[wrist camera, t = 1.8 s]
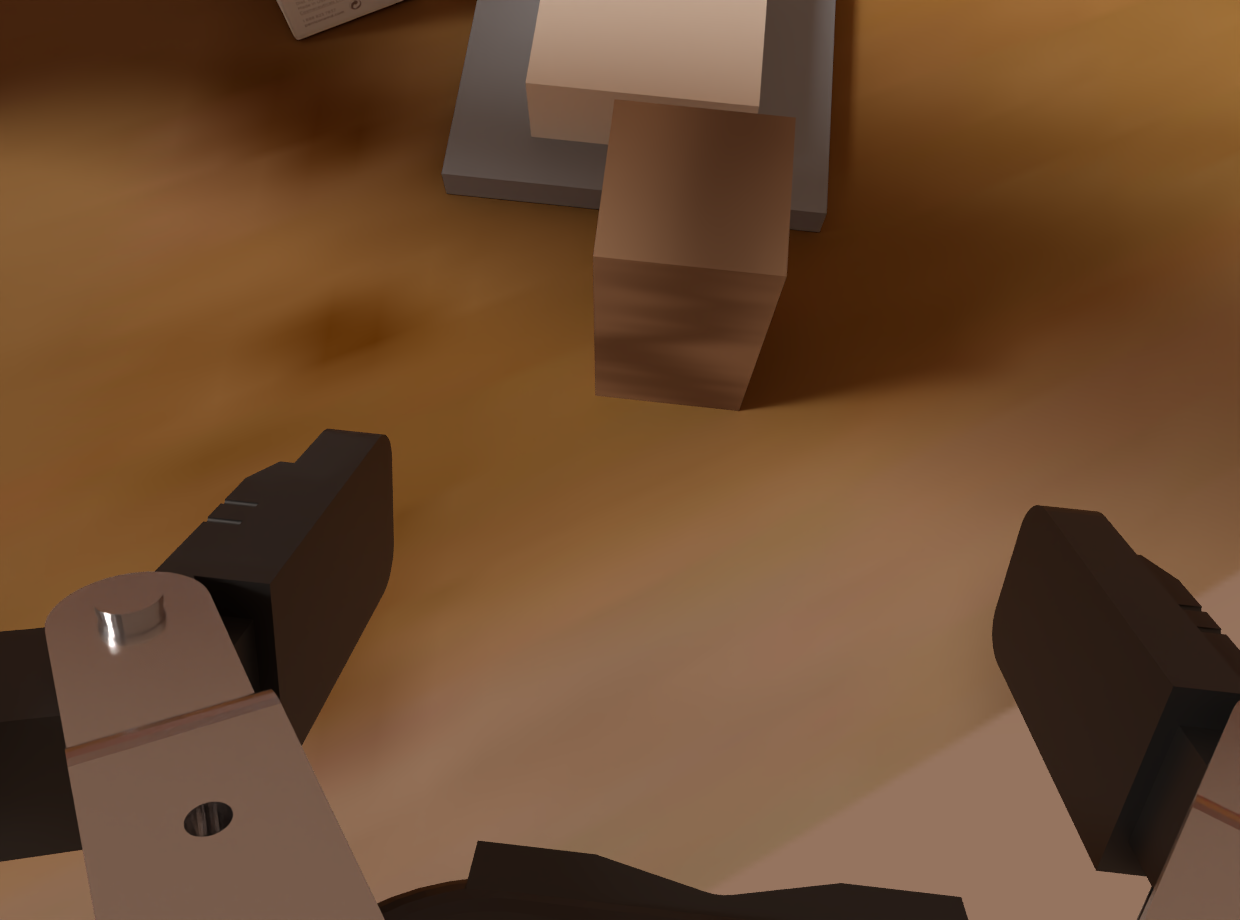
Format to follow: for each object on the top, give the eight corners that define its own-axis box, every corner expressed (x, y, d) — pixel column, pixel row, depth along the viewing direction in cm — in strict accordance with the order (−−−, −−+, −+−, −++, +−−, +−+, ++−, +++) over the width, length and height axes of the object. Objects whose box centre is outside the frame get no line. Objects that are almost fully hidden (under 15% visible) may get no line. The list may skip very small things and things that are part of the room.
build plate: (446, 193, 35) (427, 121, 32) (495, -49, 39) (484, -139, 36) (819, 231, 35) (845, 164, 31) (830, -16, 39) (854, -103, 35)
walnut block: (595, 395, 33) (593, 256, 24) (611, 270, 34) (614, 99, 26) (738, 410, 33) (786, 276, 24) (747, 284, 34) (795, 117, 26)
